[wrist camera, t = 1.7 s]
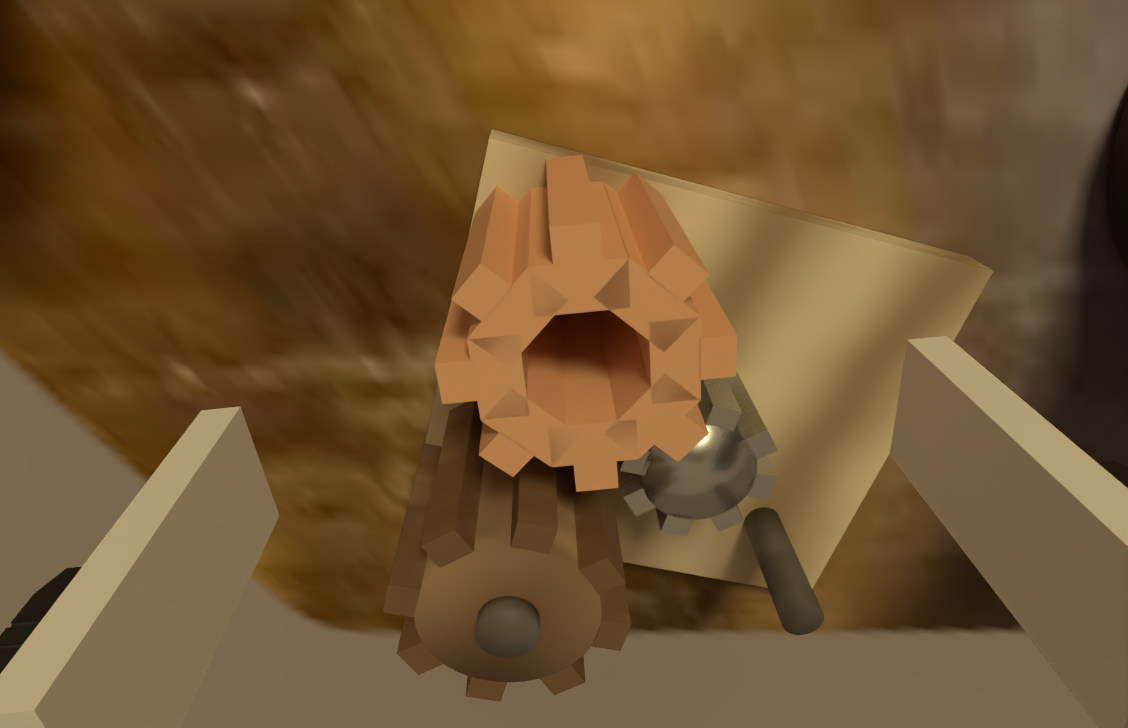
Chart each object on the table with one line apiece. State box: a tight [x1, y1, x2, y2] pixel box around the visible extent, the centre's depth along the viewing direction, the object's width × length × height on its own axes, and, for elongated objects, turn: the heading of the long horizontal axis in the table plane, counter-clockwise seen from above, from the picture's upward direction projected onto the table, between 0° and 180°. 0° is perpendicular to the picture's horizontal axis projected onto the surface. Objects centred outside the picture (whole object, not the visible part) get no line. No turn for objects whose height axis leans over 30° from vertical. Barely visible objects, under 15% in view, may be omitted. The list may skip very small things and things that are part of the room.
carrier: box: [425, 129, 993, 635], centre depth 24 cm, size 17×15×6 cm
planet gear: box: [434, 155, 737, 492], centre depth 20 cm, size 7×7×7 cm
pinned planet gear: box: [383, 401, 631, 701], centre depth 23 cm, size 7×7×8 cm
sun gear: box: [617, 371, 778, 536], centre depth 24 cm, size 5×5×4 cm
